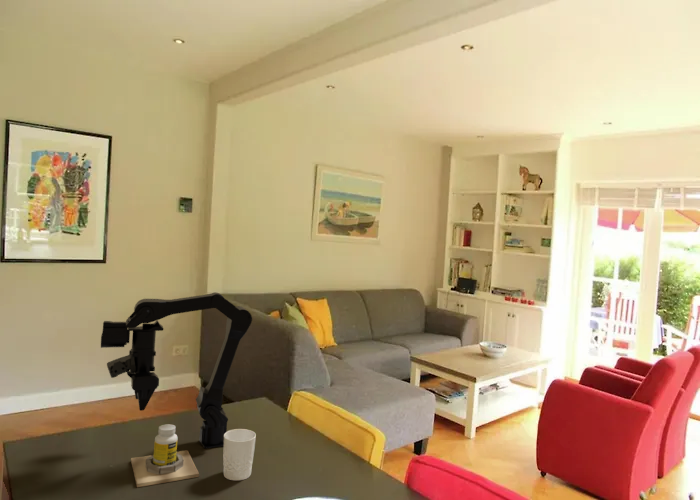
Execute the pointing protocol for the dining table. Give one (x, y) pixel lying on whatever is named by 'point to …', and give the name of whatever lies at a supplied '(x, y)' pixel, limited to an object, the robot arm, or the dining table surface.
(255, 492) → the dining table surface
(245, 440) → the white cup
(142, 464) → the board
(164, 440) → the supplement bottle
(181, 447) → the dining table surface
